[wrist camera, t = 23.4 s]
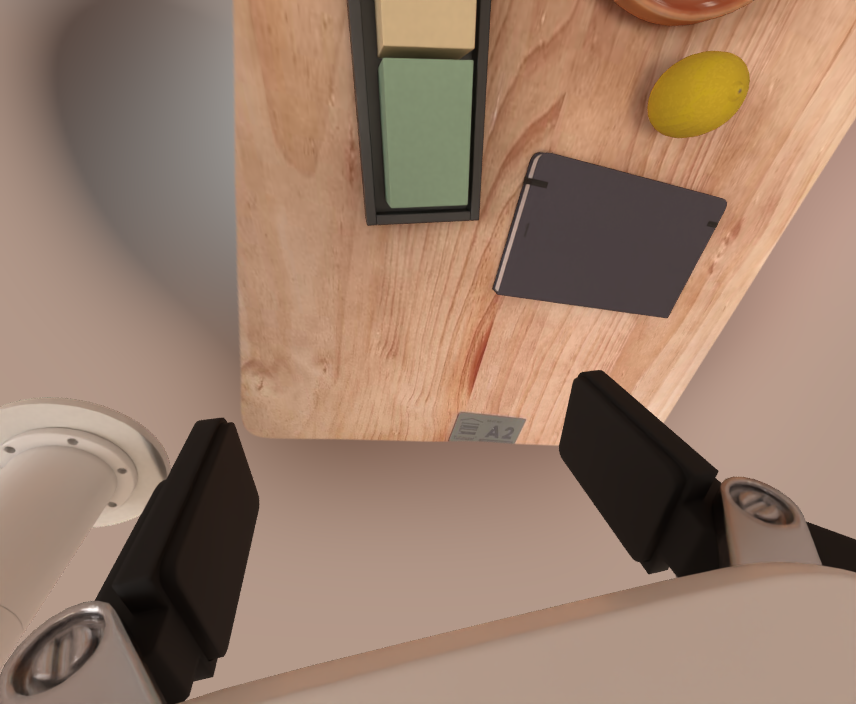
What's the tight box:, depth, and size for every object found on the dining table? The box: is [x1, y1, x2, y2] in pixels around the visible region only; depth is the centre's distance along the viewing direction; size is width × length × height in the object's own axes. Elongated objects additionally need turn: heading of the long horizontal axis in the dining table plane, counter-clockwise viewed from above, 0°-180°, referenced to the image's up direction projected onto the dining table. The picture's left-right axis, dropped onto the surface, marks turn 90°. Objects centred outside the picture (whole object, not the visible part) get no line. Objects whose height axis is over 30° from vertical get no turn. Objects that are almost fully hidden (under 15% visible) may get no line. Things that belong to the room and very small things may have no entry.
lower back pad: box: [378, 58, 473, 208], centre depth 28 cm, size 6×9×4 cm, turn 1°
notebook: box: [493, 152, 727, 318], centre depth 37 cm, size 13×2×21 cm
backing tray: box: [347, 0, 491, 226], centre depth 27 cm, size 10×22×2 cm, turn 0°
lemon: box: [647, 51, 750, 138], centre depth 29 cm, size 6×6×8 cm
